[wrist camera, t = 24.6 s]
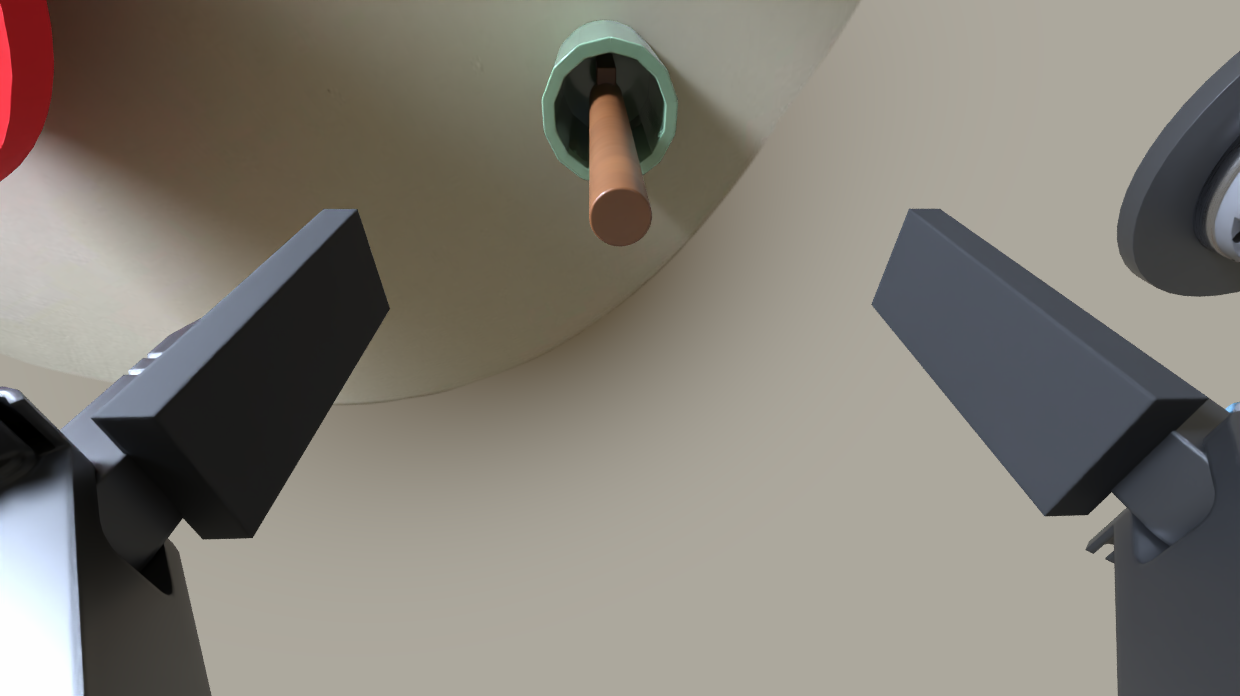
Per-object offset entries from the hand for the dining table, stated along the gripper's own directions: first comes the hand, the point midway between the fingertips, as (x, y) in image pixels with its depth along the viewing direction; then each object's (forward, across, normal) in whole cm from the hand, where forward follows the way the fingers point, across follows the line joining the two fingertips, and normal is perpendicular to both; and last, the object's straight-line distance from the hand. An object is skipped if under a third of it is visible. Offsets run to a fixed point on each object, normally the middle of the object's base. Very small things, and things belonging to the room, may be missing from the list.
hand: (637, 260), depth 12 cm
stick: (+22, 0, 0) cm, 22 cm away
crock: (+23, 0, 0) cm, 23 cm away
